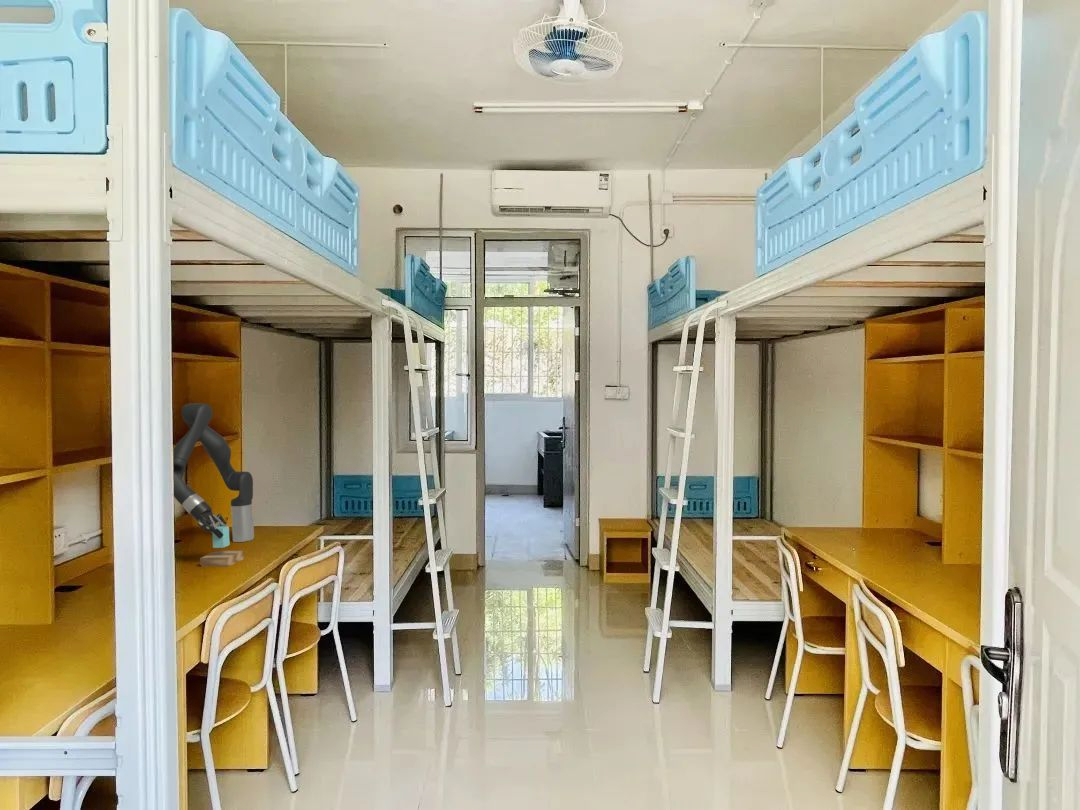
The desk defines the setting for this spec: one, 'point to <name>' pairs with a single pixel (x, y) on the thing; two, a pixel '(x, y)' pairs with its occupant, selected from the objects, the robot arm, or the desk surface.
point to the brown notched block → (222, 558)
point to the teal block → (224, 539)
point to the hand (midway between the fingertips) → (225, 535)
